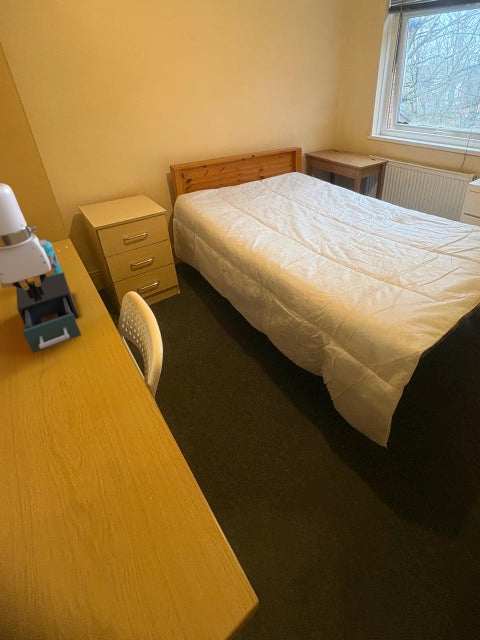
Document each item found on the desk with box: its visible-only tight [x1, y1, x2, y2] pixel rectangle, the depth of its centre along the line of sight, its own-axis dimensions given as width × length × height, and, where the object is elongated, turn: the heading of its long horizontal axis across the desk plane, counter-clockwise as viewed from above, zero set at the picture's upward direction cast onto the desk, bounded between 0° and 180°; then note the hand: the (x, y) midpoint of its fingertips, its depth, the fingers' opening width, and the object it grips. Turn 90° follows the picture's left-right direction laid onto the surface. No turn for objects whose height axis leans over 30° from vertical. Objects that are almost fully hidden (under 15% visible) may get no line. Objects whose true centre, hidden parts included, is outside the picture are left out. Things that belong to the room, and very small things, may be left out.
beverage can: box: [39, 238, 63, 277], centre depth 119 cm, size 6×6×15 cm
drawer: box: [22, 296, 82, 354], centre depth 93 cm, size 18×11×8 cm, turn 39°
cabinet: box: [15, 272, 79, 327], centre depth 102 cm, size 15×13×10 cm
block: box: [41, 313, 59, 323], centre depth 94 cm, size 4×4×4 cm
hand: (38, 298), depth 84 cm, fingers closed
